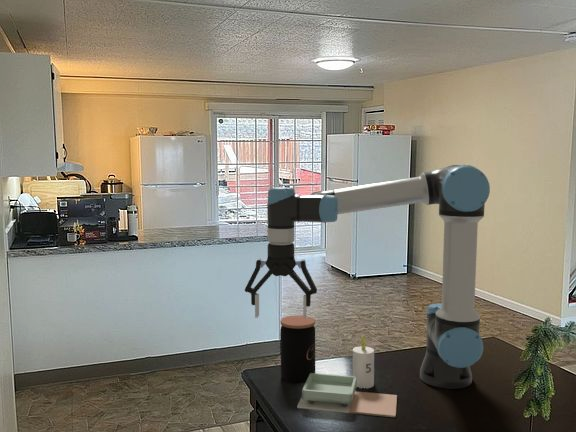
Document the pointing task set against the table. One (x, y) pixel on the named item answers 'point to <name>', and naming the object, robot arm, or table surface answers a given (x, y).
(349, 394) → the mint green tray
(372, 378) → the candle
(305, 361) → the coffee jar
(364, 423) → the table surface
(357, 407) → the board
